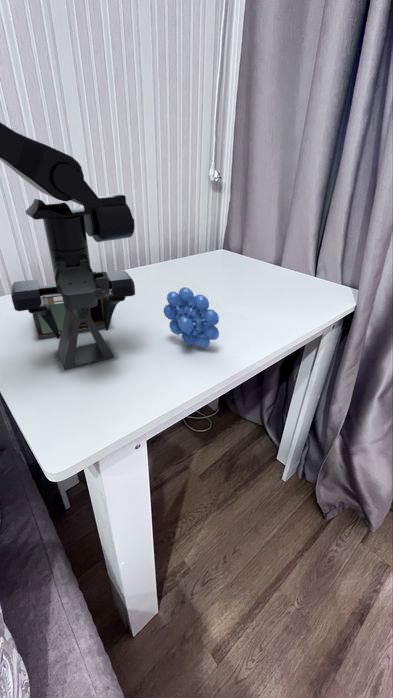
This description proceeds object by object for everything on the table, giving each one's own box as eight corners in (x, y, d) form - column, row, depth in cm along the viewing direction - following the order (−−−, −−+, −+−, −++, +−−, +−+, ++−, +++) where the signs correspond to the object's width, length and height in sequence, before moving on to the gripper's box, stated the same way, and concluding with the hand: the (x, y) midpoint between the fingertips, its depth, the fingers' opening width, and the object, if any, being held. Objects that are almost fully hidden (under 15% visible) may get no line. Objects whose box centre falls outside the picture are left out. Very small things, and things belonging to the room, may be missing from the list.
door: (39, 335, 66) (28, 291, 61) (38, 332, 67) (27, 289, 62) (77, 328, 68) (69, 286, 63) (76, 326, 69) (69, 284, 64)
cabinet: (38, 339, 66) (30, 307, 62) (36, 316, 74) (28, 287, 70) (109, 327, 71) (105, 297, 67) (100, 307, 79) (96, 279, 75)
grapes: (154, 348, 65) (152, 291, 59) (169, 332, 70) (169, 279, 64) (209, 363, 62) (213, 304, 55) (221, 345, 67) (226, 290, 60)
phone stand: (63, 370, 58) (50, 308, 51) (57, 353, 62) (44, 294, 56) (114, 358, 62) (107, 298, 55) (105, 342, 66) (98, 286, 60)
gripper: (-3, 269, 42) (27, 369, 50) (141, 256, 48) (146, 346, 57) (1, 245, 50) (25, 334, 58) (123, 237, 57) (129, 318, 65)
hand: (83, 333), depth 60 cm, fingers open, 8 cm apart
